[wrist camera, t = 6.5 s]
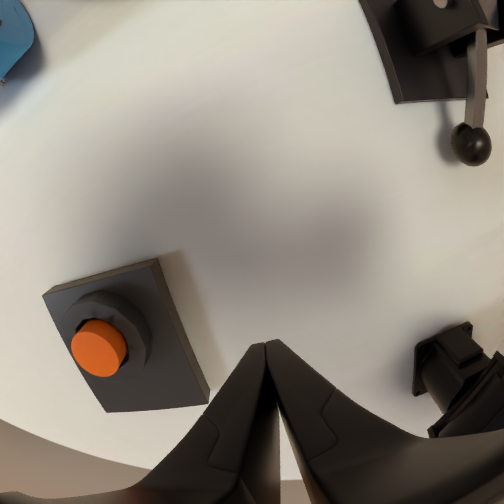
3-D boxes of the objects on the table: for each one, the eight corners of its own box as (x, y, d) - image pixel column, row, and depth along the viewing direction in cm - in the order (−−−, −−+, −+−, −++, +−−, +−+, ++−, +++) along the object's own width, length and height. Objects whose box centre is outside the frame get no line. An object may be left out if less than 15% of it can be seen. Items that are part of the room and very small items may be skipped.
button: (135, 359, 19) (127, 374, 18) (95, 365, 20) (86, 378, 18) (113, 315, 18) (103, 328, 17) (73, 323, 19) (62, 335, 17)
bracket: (480, 99, 17) (557, 90, 9) (395, 104, 18) (474, 80, 9) (438, -14, 14) (494, -54, 6) (347, -24, 15) (390, -88, 6)
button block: (210, 390, 24) (206, 419, 21) (111, 401, 24) (100, 426, 21) (157, 257, 21) (142, 275, 17) (52, 287, 21) (29, 305, 18)
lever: (469, 150, 18) (495, 172, 16) (440, 155, 19) (466, 178, 16) (471, -12, 10) (505, -7, 7) (436, -21, 10) (471, -19, 7)
